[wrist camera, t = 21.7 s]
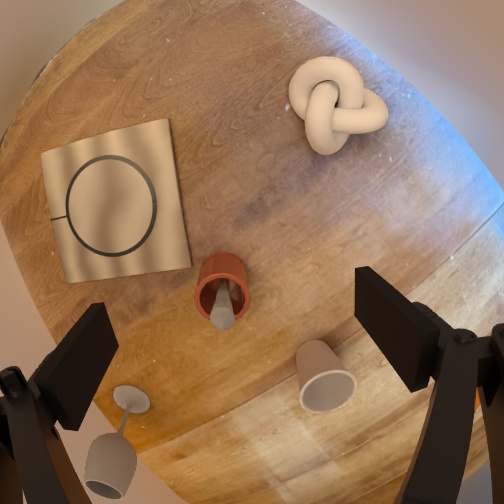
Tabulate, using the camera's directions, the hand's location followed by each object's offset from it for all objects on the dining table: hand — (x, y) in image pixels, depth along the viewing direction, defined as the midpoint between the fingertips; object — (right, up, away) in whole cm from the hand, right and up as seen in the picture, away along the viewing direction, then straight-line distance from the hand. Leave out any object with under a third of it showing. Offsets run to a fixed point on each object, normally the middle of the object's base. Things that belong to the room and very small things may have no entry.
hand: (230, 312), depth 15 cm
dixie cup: (+11, -14, +33) cm, 37 cm away
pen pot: (-3, 0, +28) cm, 28 cm away
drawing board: (-18, +9, +24) cm, 31 cm away
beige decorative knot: (+11, +21, +23) cm, 33 cm away
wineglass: (-21, -24, +34) cm, 46 cm away
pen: (-3, 0, +27) cm, 27 cm away
